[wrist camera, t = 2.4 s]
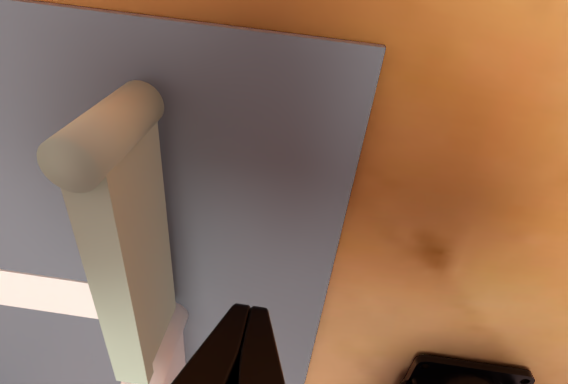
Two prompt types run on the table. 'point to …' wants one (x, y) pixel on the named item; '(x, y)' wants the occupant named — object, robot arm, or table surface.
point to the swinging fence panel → (119, 220)
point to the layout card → (179, 178)
